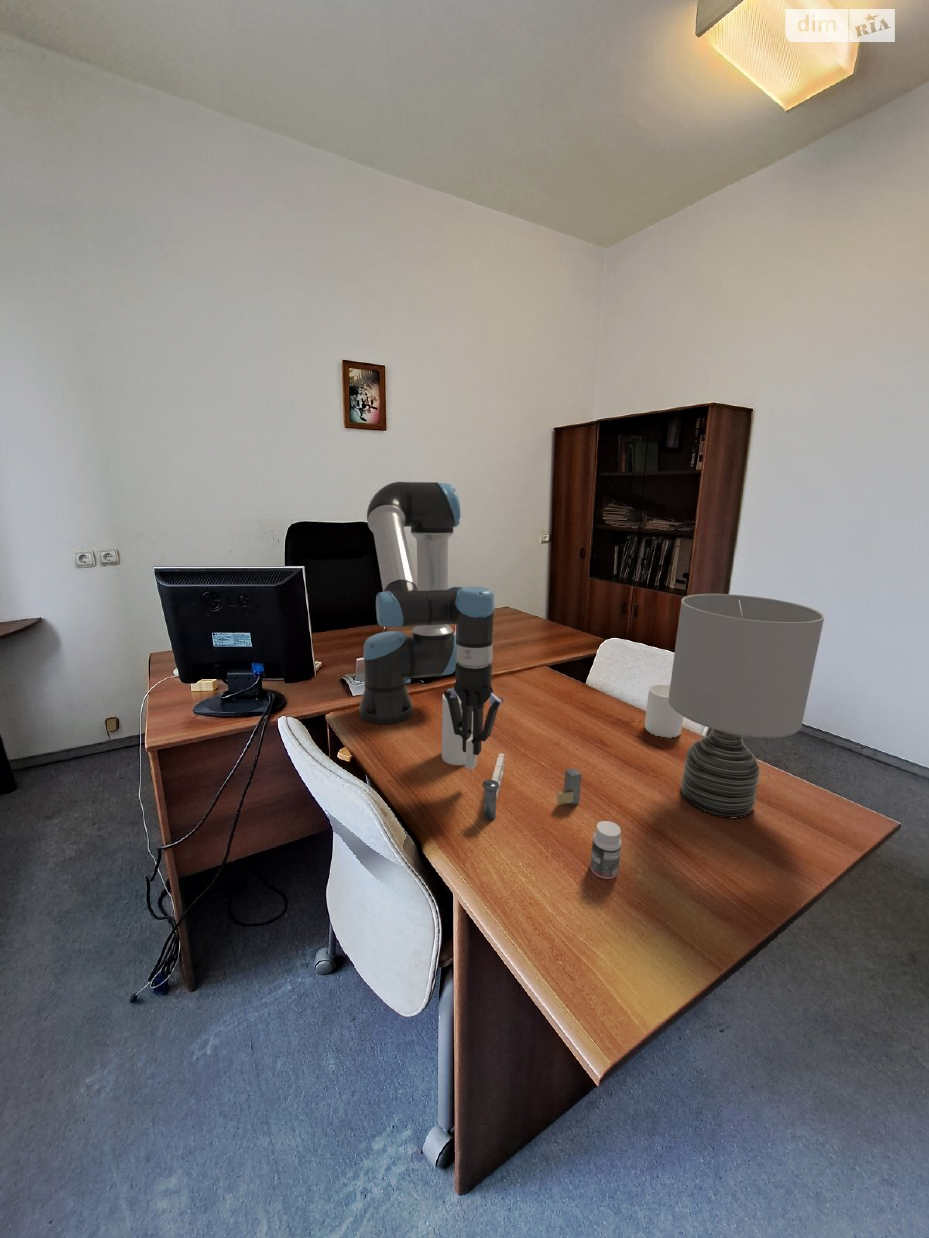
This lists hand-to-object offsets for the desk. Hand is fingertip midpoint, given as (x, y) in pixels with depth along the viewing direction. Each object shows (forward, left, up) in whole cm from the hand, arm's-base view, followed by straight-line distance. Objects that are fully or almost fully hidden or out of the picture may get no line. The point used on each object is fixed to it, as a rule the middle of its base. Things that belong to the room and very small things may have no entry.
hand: (471, 766), depth 109 cm
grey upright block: (+11, +17, -5) cm, 21 cm away
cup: (-13, +1, -5) cm, 14 cm away
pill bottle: (+30, +14, -5) cm, 33 cm away
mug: (-12, +59, -5) cm, 61 cm away
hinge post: (+11, 0, -5) cm, 12 cm away
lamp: (+19, +49, -5) cm, 53 cm away
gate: (+3, +5, -5) cm, 8 cm away
